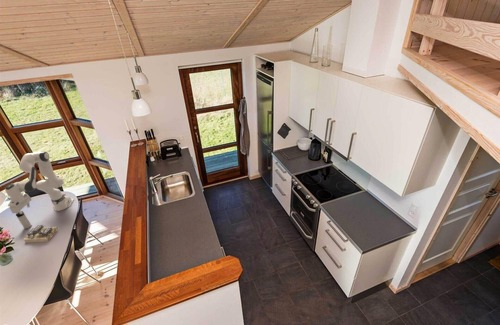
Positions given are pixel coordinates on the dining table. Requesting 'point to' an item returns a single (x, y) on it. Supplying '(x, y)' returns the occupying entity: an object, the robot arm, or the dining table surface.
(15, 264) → the dining table surface
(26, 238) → the panel
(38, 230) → the knob
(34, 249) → the dining table surface
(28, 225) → the travel mug
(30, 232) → the knob
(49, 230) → the knob
